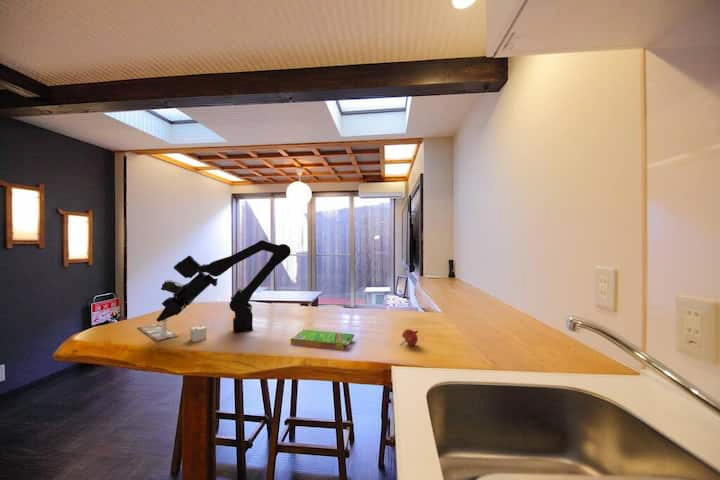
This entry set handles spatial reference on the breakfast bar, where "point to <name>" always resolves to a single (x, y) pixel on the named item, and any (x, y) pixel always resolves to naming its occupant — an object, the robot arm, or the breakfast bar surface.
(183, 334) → the breakfast bar surface
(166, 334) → the chess piece
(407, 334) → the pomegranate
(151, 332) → the track board
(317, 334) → the game box
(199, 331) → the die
